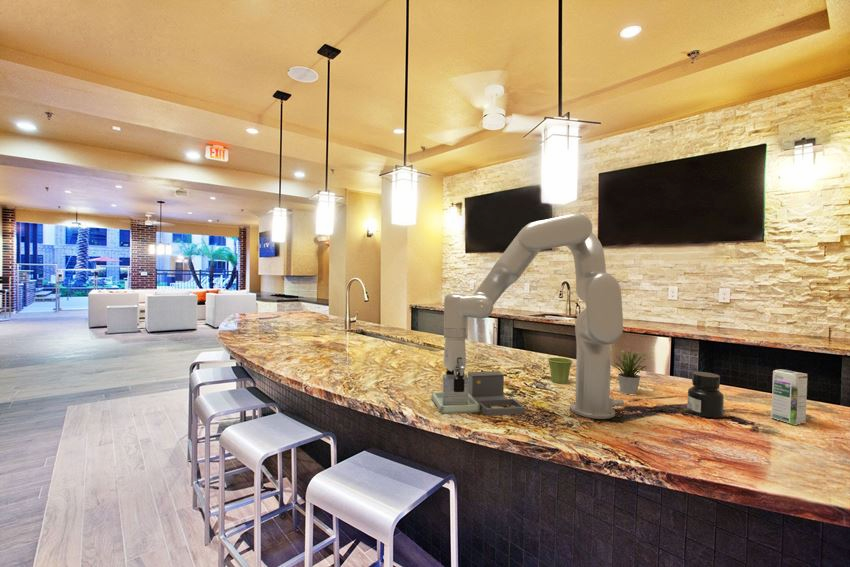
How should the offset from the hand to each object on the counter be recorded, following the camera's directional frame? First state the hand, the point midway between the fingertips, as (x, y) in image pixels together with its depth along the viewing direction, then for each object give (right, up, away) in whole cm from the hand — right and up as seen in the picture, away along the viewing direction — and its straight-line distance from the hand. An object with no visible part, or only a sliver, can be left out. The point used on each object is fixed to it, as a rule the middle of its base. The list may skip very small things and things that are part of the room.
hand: (454, 387), depth 122 cm
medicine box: (0, -5, 0) cm, 5 cm away
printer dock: (+13, -6, +3) cm, 14 cm away
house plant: (+64, -7, +15) cm, 66 cm away
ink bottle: (+76, -7, -4) cm, 76 cm away
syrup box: (+96, -8, -10) cm, 97 cm away
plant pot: (+43, -6, +29) cm, 53 cm away
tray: (0, -6, 0) cm, 6 cm away
